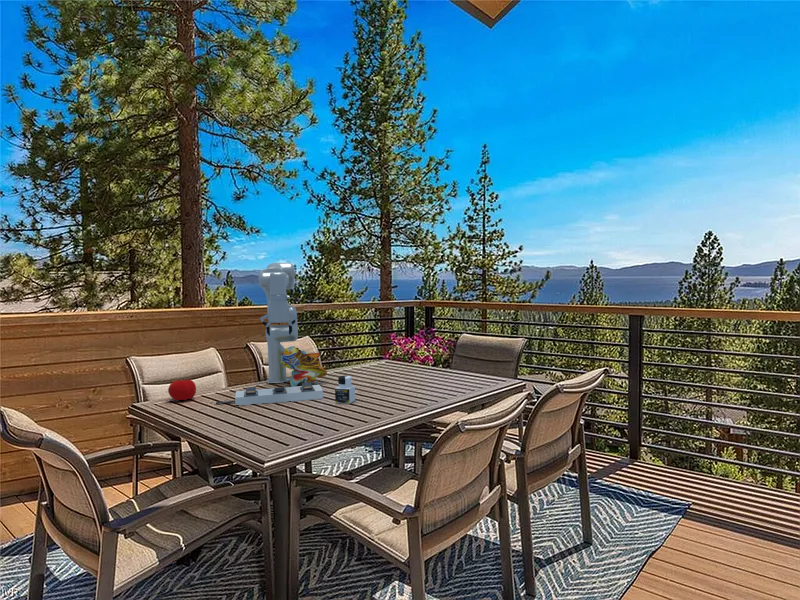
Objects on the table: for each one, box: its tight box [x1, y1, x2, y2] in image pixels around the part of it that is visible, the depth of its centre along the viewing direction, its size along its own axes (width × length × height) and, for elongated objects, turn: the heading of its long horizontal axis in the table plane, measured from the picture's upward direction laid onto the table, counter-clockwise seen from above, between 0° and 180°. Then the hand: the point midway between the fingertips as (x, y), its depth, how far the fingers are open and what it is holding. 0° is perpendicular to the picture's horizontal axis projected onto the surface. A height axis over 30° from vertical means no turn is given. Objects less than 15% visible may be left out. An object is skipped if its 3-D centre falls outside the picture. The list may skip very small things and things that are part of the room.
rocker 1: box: [245, 386, 257, 395], centre depth 244 cm, size 7×4×2 cm, turn 16°
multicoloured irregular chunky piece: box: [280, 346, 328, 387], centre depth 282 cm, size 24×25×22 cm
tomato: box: [167, 377, 197, 401], centre depth 254 cm, size 13×12×11 cm
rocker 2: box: [301, 382, 313, 391], centre depth 251 cm, size 7×4×2 cm, turn 16°
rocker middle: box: [273, 386, 285, 391], centre depth 248 cm, size 7×4×2 cm, turn 15°
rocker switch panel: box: [215, 384, 324, 406], centre depth 249 cm, size 14×49×5 cm, turn 106°
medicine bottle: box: [334, 375, 356, 405], centre depth 242 cm, size 7×7×12 cm
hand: (279, 334), depth 247 cm, fingers open, 9 cm apart
